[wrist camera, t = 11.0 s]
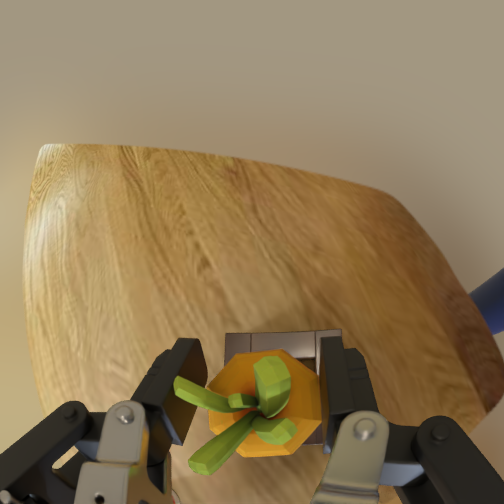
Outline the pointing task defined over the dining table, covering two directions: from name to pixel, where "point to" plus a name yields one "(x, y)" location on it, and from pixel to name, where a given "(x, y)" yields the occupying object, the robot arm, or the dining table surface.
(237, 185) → the dining table surface
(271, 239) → the dining table surface
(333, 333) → the socket block
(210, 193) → the dining table surface
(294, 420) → the carrot
